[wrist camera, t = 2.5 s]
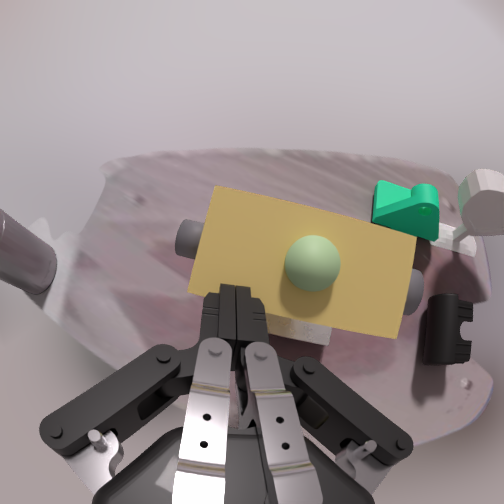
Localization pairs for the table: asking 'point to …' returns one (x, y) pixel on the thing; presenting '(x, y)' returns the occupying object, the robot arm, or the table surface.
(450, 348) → the end cap
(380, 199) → the camera mount
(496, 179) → the heart sculpture
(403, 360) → the table surface
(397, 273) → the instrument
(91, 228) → the table surface
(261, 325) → the robot arm
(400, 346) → the table surface
